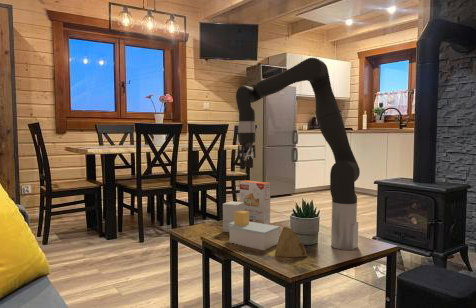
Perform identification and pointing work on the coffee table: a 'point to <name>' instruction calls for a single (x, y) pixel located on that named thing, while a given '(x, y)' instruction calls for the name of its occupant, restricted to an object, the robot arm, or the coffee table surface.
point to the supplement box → (230, 213)
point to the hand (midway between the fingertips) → (246, 168)
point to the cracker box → (256, 200)
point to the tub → (254, 239)
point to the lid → (250, 224)
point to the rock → (289, 245)
